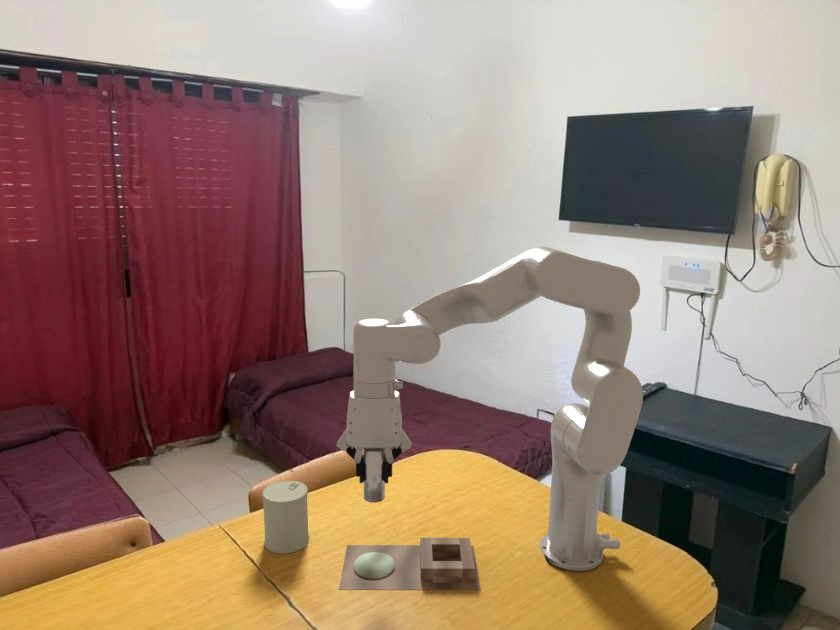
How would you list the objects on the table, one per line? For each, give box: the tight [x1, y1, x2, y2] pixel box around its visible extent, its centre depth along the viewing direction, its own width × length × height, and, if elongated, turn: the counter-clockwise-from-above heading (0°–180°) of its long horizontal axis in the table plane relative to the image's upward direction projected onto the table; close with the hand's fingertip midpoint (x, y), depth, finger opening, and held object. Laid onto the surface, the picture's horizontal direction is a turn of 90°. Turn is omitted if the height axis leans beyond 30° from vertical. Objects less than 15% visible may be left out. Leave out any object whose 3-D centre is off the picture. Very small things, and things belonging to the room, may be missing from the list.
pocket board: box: [338, 537, 481, 591], centre depth 116 cm, size 26×14×4 cm, turn 91°
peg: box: [363, 448, 386, 504], centre depth 112 cm, size 4×4×10 cm
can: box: [262, 480, 310, 555], centre depth 125 cm, size 9×9×12 cm
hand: (374, 478), depth 113 cm, fingers closed on peg, 4 cm apart
